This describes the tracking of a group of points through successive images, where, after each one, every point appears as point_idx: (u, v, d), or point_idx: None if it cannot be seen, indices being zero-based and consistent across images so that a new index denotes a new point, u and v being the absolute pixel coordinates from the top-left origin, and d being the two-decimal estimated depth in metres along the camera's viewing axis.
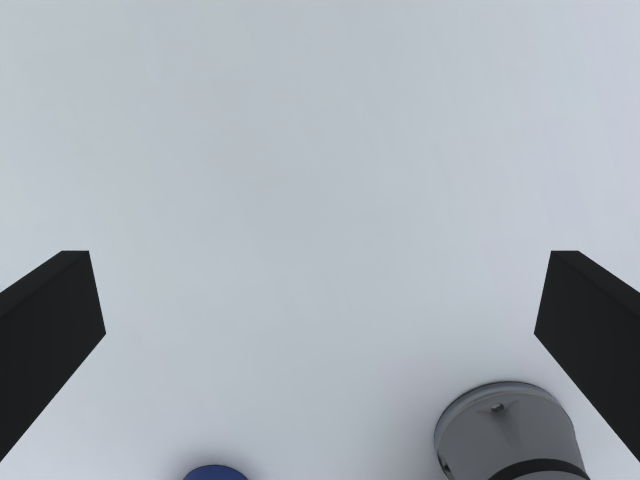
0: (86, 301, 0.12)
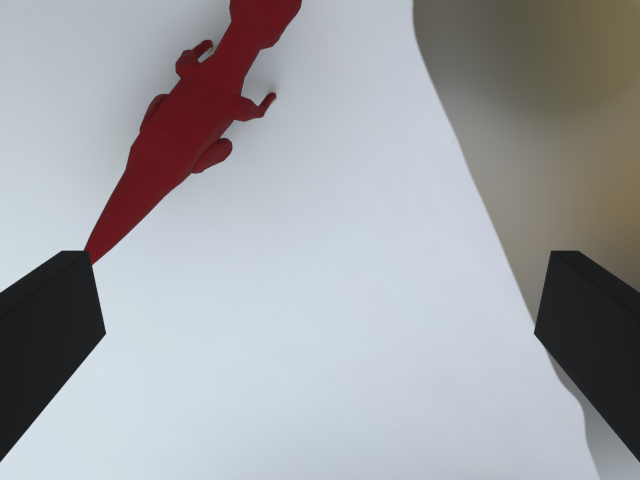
0: (86, 301, 0.12)
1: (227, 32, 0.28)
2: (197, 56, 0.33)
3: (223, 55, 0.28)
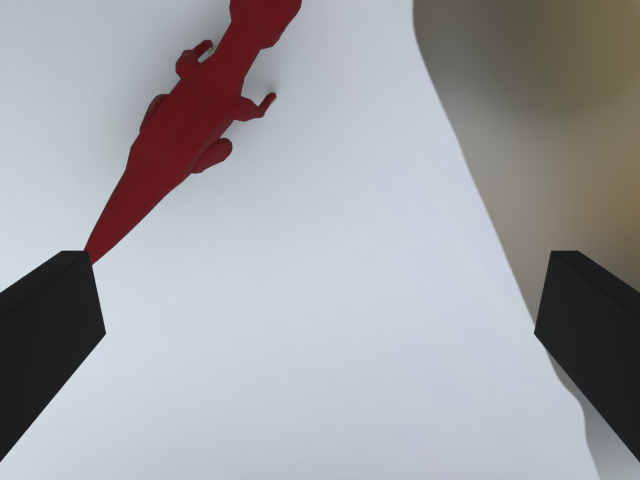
0: (86, 301, 0.12)
1: (227, 32, 0.28)
2: (197, 56, 0.33)
3: (223, 55, 0.28)
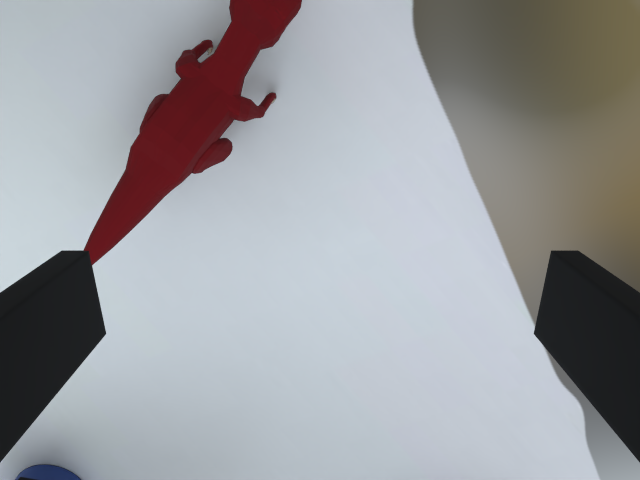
0: (86, 301, 0.12)
1: (227, 32, 0.28)
2: (197, 56, 0.33)
3: (223, 55, 0.28)
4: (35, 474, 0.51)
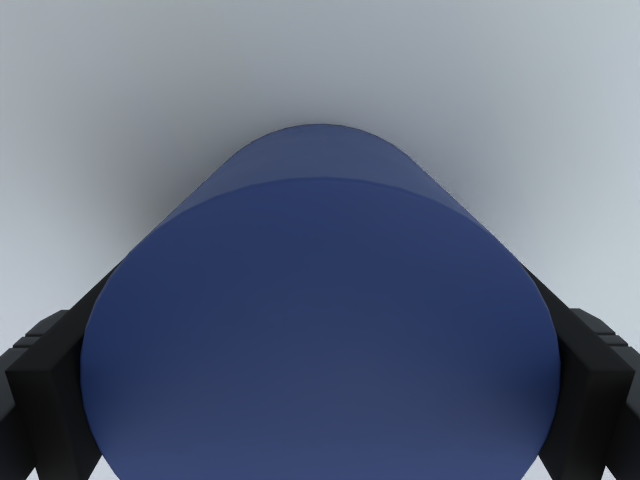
0: None
1: None
2: None
3: None
4: (313, 130, 0.12)
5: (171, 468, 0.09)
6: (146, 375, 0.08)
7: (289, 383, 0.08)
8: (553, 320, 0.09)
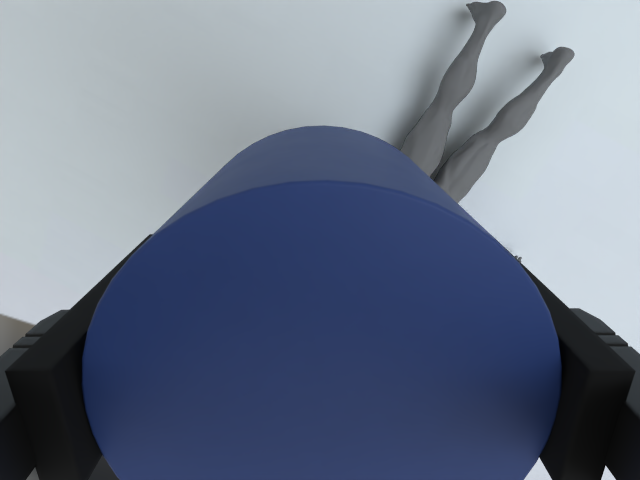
0: None
1: None
2: None
3: None
4: (314, 132, 0.12)
5: (173, 470, 0.09)
6: (147, 377, 0.08)
7: (290, 385, 0.08)
8: (553, 320, 0.09)
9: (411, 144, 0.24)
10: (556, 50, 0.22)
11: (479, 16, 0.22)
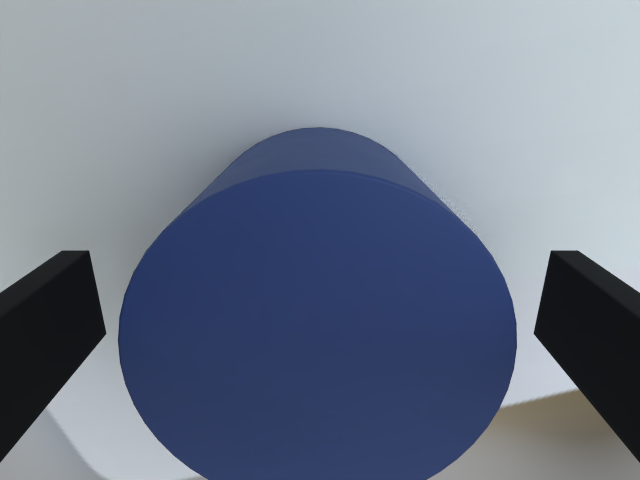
0: (86, 301, 0.12)
1: None
2: None
3: None
4: (311, 132, 0.14)
5: (192, 417, 0.10)
6: (173, 334, 0.09)
7: (291, 341, 0.10)
8: None
9: None
10: None
11: None
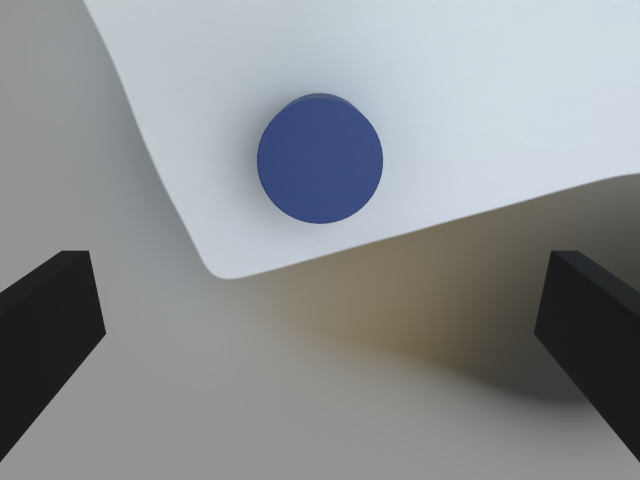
0: (86, 301, 0.12)
1: None
2: None
3: None
4: (317, 94, 0.35)
5: (278, 184, 0.31)
6: (275, 152, 0.30)
7: (311, 154, 0.30)
8: None
9: None
10: None
11: None
